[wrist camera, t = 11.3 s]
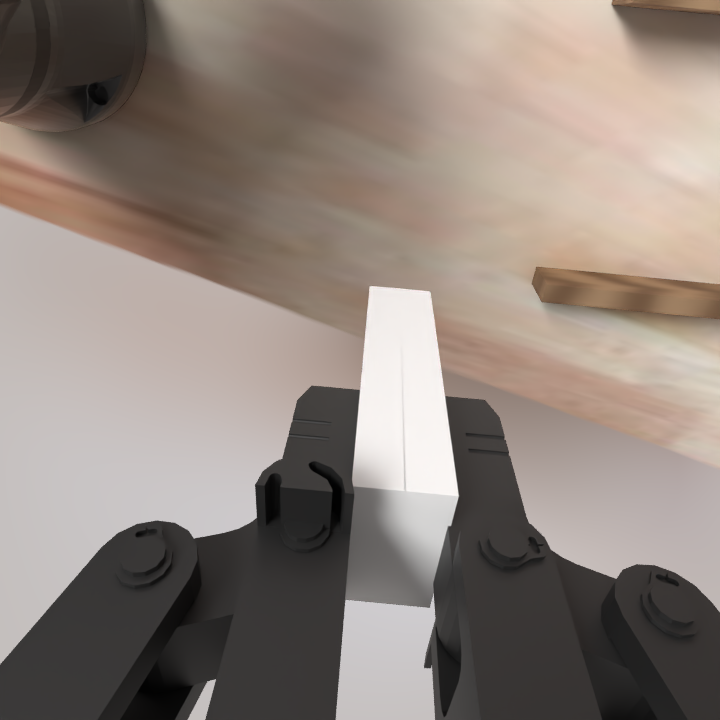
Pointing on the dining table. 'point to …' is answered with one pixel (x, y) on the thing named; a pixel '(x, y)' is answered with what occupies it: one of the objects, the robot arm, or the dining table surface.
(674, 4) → the channel
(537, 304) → the dining table surface
